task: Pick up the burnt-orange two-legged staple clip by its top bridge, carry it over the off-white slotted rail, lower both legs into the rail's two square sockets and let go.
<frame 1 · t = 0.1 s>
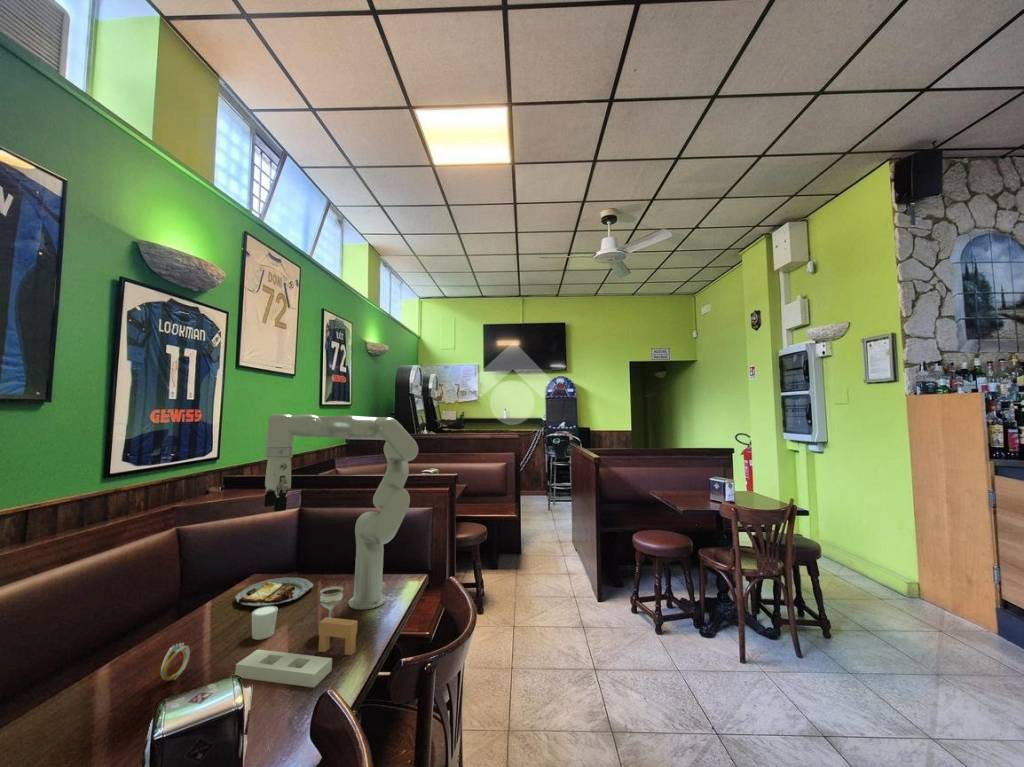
hand: (274, 508, 126), 37 cm above the table, tool pointing down, fingers open, 9 cm apart
bracelet: (174, 679, 100), on the table
staple clip: (336, 651, 114), on the table
wineglass: (329, 631, 125), on the table
food plate: (274, 597, 150), on the table
white tapered cylinder: (263, 635, 122), on the table
slotted rail: (283, 673, 103), on the table
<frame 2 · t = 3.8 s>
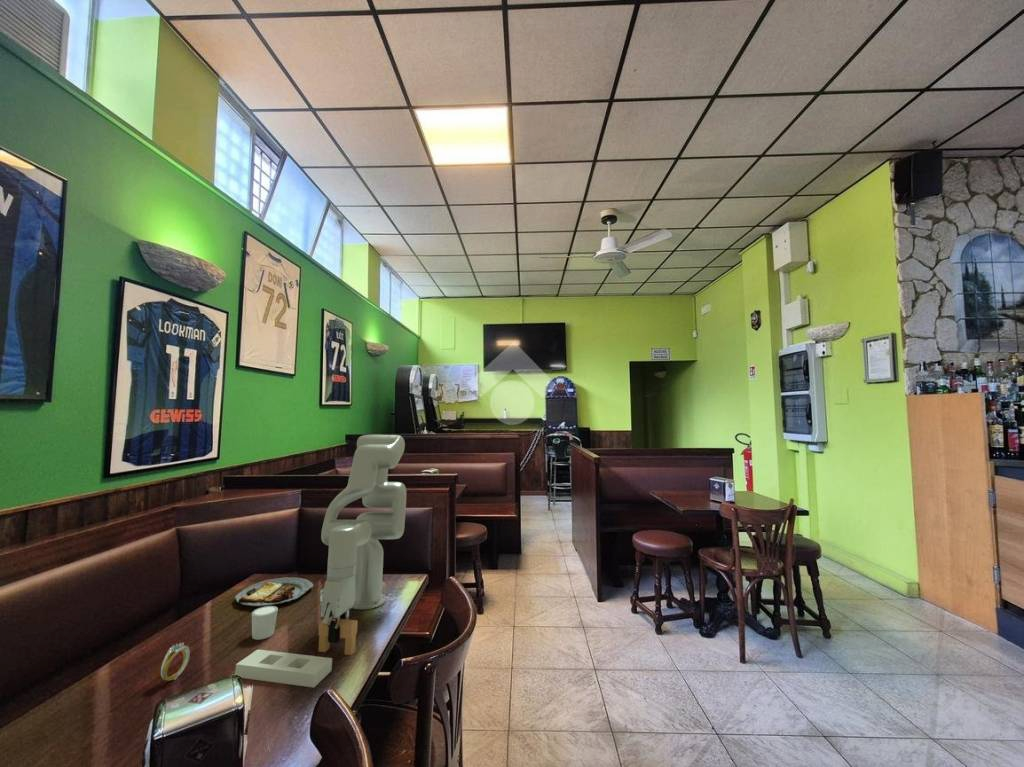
hand: (337, 638, 114), 3 cm above the table, tool pointing down, fingers closed on staple clip, 3 cm apart
staple clip: (336, 651, 114), on the table, touching gripper
everything else where it was.
when the fingers open (4 cm above the table, at t = 8.5 s): staple clip stays where it is, resting in slotted rail.
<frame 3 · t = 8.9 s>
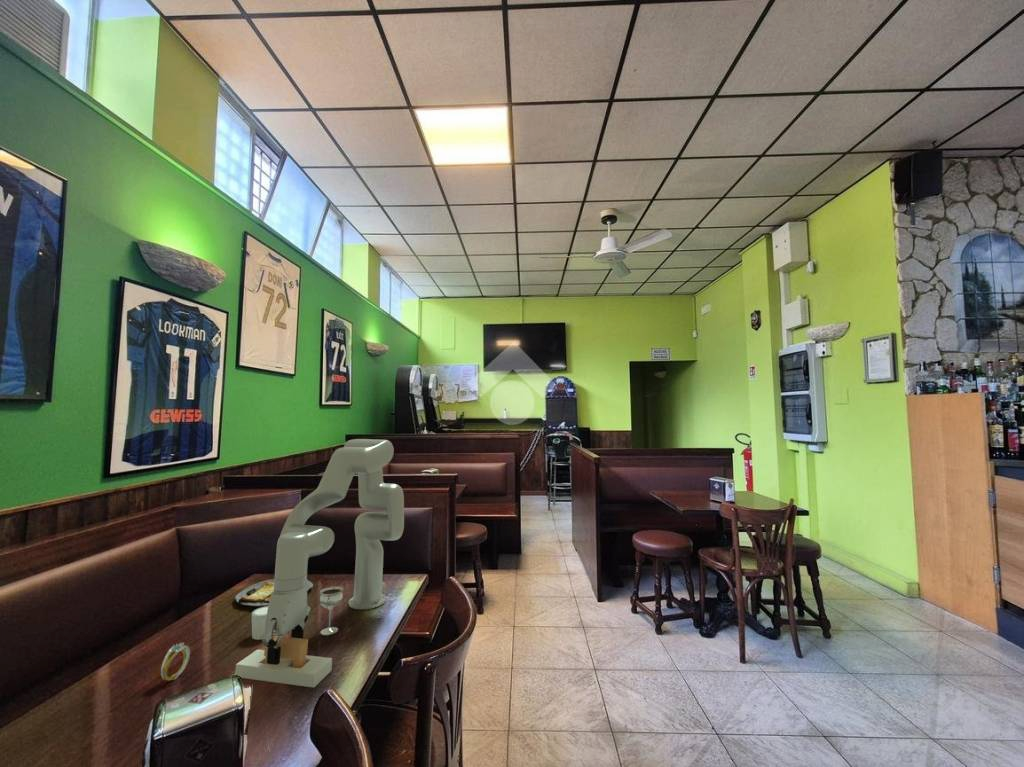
hand: (285, 653, 103), 5 cm above the table, tool pointing down, fingers open, 7 cm apart
staple clip: (284, 673, 103), resting in slotted rail
everything else where it was.
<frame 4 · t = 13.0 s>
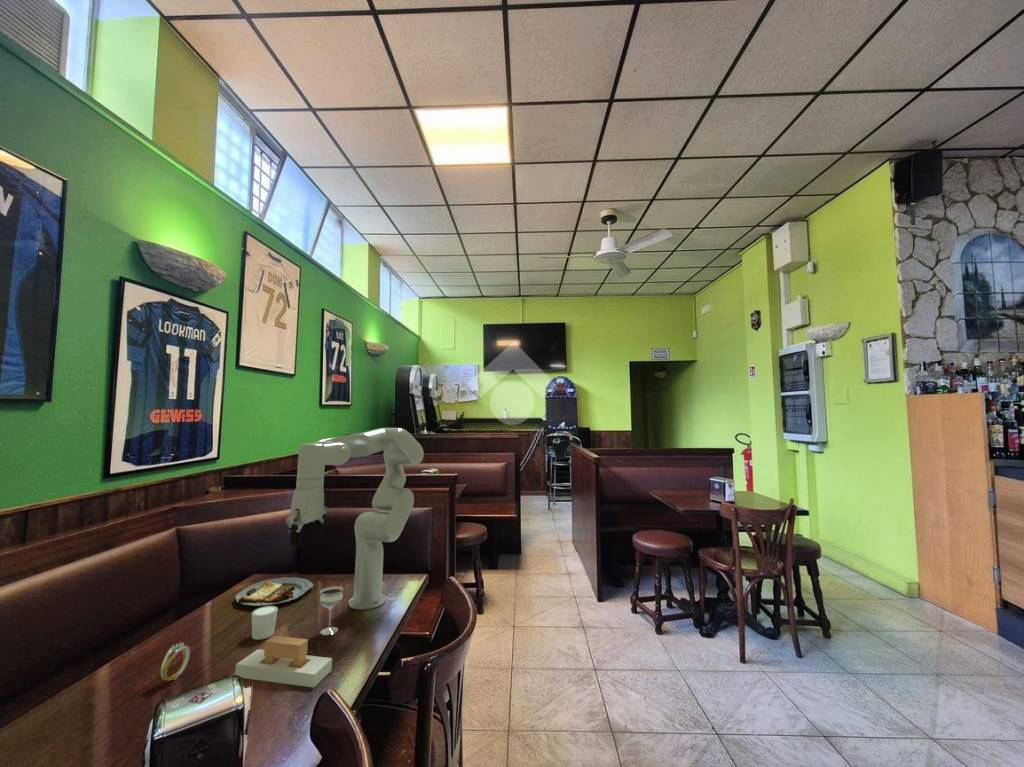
hand: (306, 541, 122), 28 cm above the table, tool pointing down, fingers open, 9 cm apart
nothing on the table moved.
at the end: staple clip 0.1 cm off-centre on the slotted rail, point 0.0 cm above the slotted rail's base; staple clip tilted 0°; the gripper is holding nothing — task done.
